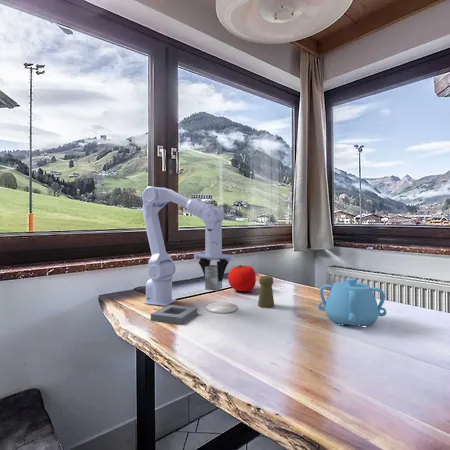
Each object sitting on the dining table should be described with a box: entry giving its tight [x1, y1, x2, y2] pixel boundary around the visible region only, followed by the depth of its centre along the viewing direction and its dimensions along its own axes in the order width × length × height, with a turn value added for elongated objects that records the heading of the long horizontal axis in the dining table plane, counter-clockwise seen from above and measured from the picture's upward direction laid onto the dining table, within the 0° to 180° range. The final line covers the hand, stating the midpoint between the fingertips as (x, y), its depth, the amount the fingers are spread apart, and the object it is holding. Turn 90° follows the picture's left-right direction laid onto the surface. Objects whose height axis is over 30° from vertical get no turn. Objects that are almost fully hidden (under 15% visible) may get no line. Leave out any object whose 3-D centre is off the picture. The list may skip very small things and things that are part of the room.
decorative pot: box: [317, 277, 387, 326], centre depth 100 cm, size 16×16×14 cm
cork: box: [257, 275, 275, 309], centre depth 117 cm, size 6×6×11 cm
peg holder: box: [150, 304, 198, 325], centre depth 105 cm, size 11×11×2 cm
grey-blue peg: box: [204, 264, 223, 292], centre depth 112 cm, size 4×4×8 cm
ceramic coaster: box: [205, 302, 238, 314], centre depth 114 cm, size 11×11×1 cm
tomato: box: [227, 264, 257, 292], centre depth 139 cm, size 12×14×11 cm
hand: (213, 280), depth 112 cm, fingers closed on grey-blue peg, 4 cm apart
